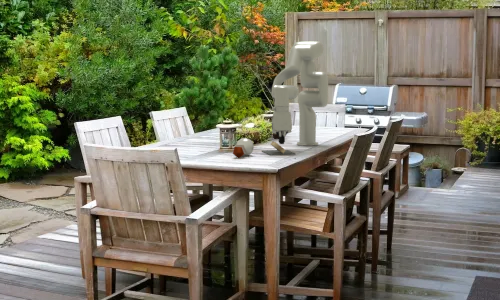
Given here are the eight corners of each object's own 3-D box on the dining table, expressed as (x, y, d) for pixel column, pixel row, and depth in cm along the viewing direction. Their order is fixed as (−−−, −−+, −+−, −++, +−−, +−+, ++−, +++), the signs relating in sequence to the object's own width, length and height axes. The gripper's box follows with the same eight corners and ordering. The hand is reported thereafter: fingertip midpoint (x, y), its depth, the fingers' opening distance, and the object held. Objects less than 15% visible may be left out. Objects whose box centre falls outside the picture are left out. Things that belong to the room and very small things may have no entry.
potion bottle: (250, 157, 377) (241, 164, 364) (235, 146, 378) (226, 153, 365) (259, 143, 374) (251, 150, 360) (244, 132, 375) (235, 139, 361)
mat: (261, 151, 388) (261, 150, 388) (286, 150, 392) (286, 149, 392) (270, 155, 373) (270, 154, 373) (295, 154, 376) (295, 153, 376)
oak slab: (270, 144, 379) (273, 145, 374) (272, 141, 379) (276, 142, 374) (279, 152, 381) (283, 153, 375) (282, 149, 381) (285, 150, 376)
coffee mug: (268, 138, 451) (268, 122, 450) (279, 137, 456) (279, 121, 455) (280, 140, 442) (280, 124, 440) (290, 139, 447) (290, 123, 445)
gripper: (270, 110, 373) (270, 145, 375) (297, 109, 377) (297, 144, 379) (266, 109, 380) (266, 143, 382) (292, 108, 384) (292, 142, 386)
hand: (281, 143), depth 381 cm, fingers closed
